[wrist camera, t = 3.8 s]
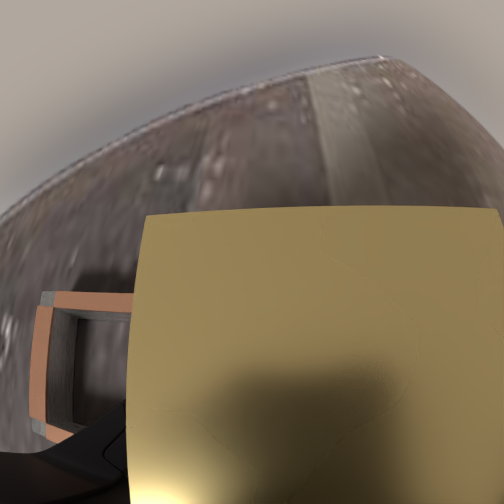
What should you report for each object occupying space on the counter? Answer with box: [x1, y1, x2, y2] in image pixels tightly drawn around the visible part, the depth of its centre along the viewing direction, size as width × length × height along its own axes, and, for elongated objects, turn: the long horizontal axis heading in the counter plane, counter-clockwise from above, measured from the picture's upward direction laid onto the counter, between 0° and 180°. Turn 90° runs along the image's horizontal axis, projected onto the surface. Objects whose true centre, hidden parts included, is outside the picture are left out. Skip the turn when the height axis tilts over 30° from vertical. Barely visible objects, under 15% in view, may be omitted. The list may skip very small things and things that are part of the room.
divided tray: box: [29, 291, 134, 443], centre depth 13 cm, size 20×9×3 cm, turn 90°
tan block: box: [126, 206, 504, 504], centre depth 8 cm, size 4×4×13 cm
